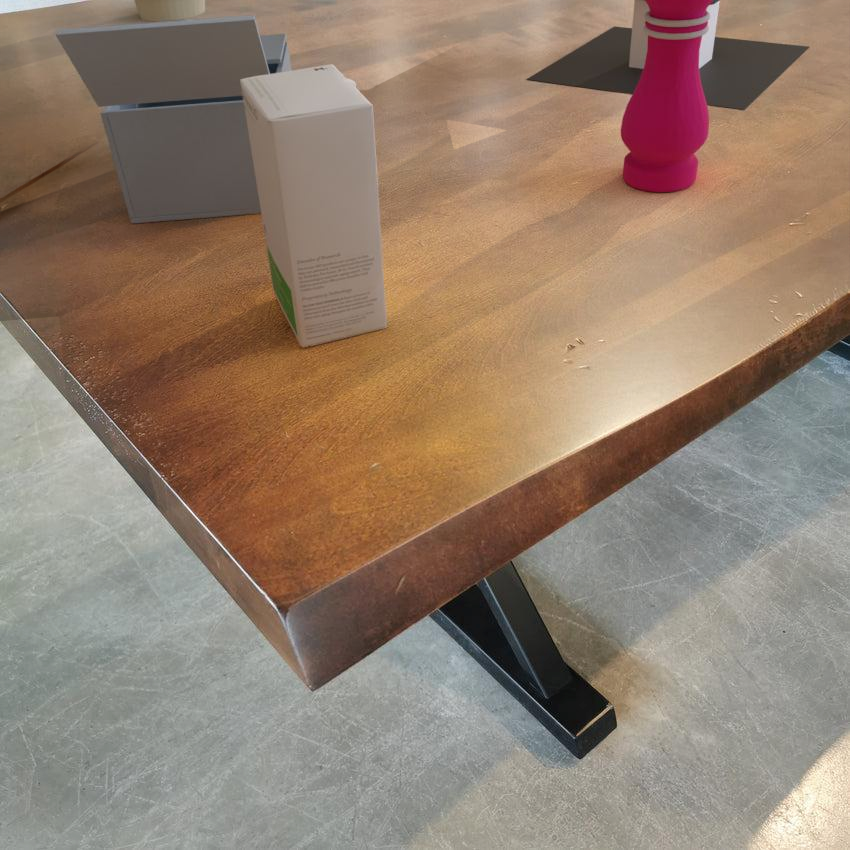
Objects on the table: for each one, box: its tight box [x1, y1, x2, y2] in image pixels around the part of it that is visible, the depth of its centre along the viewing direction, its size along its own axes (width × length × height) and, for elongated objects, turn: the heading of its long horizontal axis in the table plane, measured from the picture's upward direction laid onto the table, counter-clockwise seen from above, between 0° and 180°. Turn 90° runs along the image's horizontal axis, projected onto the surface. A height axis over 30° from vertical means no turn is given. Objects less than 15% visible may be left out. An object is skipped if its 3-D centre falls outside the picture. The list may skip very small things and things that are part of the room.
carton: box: [100, 33, 293, 224], centre depth 80 cm, size 17×14×10 cm
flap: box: [55, 14, 270, 108], centre depth 66 cm, size 8×14×1 cm
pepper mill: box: [620, 0, 713, 193], centre depth 71 cm, size 7×7×20 cm
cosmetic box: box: [240, 63, 388, 349], centre depth 58 cm, size 8×7×16 cm
